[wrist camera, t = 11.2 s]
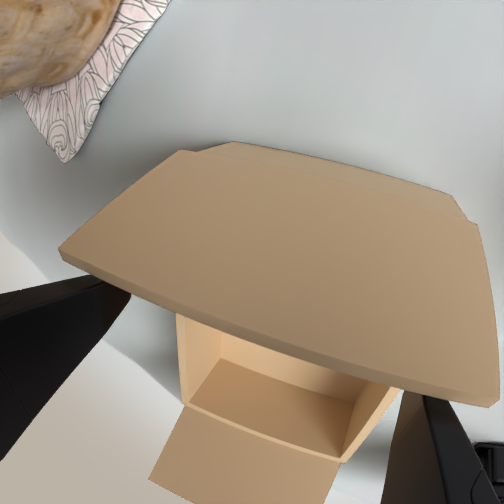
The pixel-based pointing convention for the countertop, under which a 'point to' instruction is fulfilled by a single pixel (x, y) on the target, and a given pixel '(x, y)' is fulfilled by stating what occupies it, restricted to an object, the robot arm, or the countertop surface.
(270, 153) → the carton
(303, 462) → the far flap
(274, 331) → the near flap
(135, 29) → the cookie jar
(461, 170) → the countertop surface
